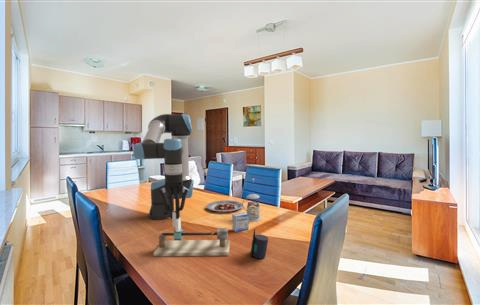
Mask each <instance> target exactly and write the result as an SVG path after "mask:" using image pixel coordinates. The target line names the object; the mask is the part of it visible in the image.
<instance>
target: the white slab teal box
mask: <svg viewBox="0 0 480 305" xmlns="http://www.w3.org/2000/svg"><path fill="white" fill-rule="evenodd" d="M181 220H182V218H181V216H180V217H179V219H176V221H175V224H176V227H175V229H174V231H173V233H174V236H173V240H174V241H176V240H183V237H184V236H181V233H184V228H183V227H182V221H181Z"/></svg>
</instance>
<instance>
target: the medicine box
mask: <svg viewBox="0 0 480 305" xmlns="http://www.w3.org/2000/svg"><path fill="white" fill-rule="evenodd" d="M231 218H232V219H231V222H232V226H231V227H232V228H231V229H232V230H233V232H235V233H239V232H240V233H241V232H243V231H244V232H245V231H249V226H250V225H249V222H250V221H249V219H248V214H247V212H239V213H233V214H231Z"/></svg>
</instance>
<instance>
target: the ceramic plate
mask: <svg viewBox="0 0 480 305" xmlns="http://www.w3.org/2000/svg"><path fill="white" fill-rule="evenodd" d="M242 203H243V202H241V201H237V200H227V199H226V200H217V201H213V202H210V203H208V204H207V205H206V208H207V209H208V210H211V211H214V212H220V213H228V212H233V211H237V210H240V209H243V208H244V207H243V206H244V205H243V206H242Z"/></svg>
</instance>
